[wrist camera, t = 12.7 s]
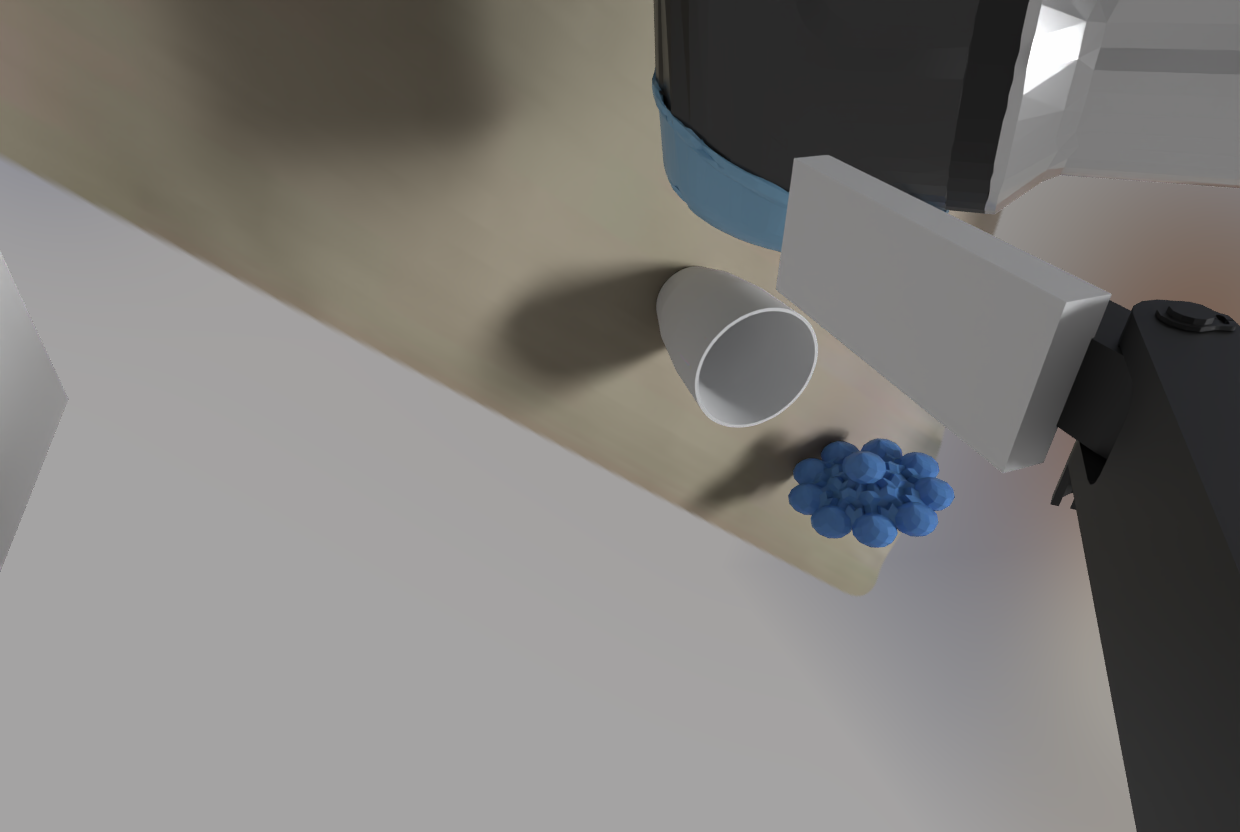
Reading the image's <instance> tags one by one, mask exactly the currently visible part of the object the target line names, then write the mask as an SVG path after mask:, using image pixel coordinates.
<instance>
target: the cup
mask: <svg viewBox="0 0 1240 832" xmlns="http://www.w3.org/2000/svg"><path fill="white" fill-rule="evenodd" d="M656 310H657V316H658V322H659V328H660V333H661V337H662V339H663V342H664V344H665V346H666V349H667V351H668V353H669V355H670V358H671V360H672V362H673V364H674V367H675V369H676V371H677V373H678V374H679V376H680V377H681V379H682V380H683V382H684V383H685V385H686V386H687V388H688V390H689V391H690V393H691V394H692V396H693V397H694V399H695V400H696V402H697V403H698V405H699V406H700V408H701V409H702V411H703V412H704V413H705V415H706V416H708V417H709V418H710V419H711V420H713V421H714V422H716V423H718V424H721V425H724V426H728V427H748V426H753V425H757V424H760V423H762V422H765V421H767V420H769V419H771V418H773V417H775V416H776V415H778V414H780V413H781V412H782V411H784V410H785V409H786V408H788V407H789V406H790V405H791V404H792V403H793V402H794V401H795V400H796V399H797V398H798V397H799V395H800V394H801V393H802V392H803V390H804V389H805V387H806V386H807V384H808V382H809V381H810V379H811V376H812V374H813V372H814V369H815V366H816V361H817V355H818V344H817V338H816V335H815V332H814V330H813V328H812V326H811V325H810V323H809V322H808V321H807V320H806V319H805V318H804V317H803V316H801V315H800V314H799V313H797V312H796V311H794V310H793V309H791V308H790V307H788V306H787V305H786V304H784V303H783V302H781V301H780V300H778V299H777V298H776V297H774V296H773V295H771V294H770V293H768V292H767V291H765V290H764V289H762V288H761V287H758V286H756V285H754V284H752V283H750V282H748V281H746V280H744V279H741V278H739V277H737V276H735V275H733V274H731V273H728V272H725V271H721V270H716V269H711V268H706V267H700V266H693V267H688V268H685V269H682V270H680V271H678V272H677V273H675V274H674V275H672V276H671V277H670V278H669V279H668V280H667V281H666V282H665V284H664V285H663V287H662V288H661V290H660V292H659V295H658V298H657V303H656Z"/></svg>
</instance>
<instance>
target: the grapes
mask: <svg viewBox="0 0 1240 832" xmlns="http://www.w3.org/2000/svg"><path fill="white" fill-rule="evenodd" d="M821 458H822V461H821V460H819V459H815V458H808V459H804V460H802V461H801V462H799V463H798V464H796V466H795V468H794V470H793V475H794V479H795V480H796V481H797V482H798V483H799V485H797V486H796V487H794V488H793V489H792V490H791V492H790V494H789V495H788V498H789V504H790V505H791V506H792V507H793V508H794V509H795V510H796V511H798V512H800V513H802V514H804V515H812V517H811V524H812V527H813V528H814V529H815V530H816V531H817V533H819V534H820V535H823V536H825V537H827V538H842V537H843V536H845V535H847V534H848V533H850V532H851V530H852V531H853V535H854V536H855V537H856V539H857V540H858V541H859V542H861V543H862V544H865V545H867V546H869V547H877V548H878V547H885V546H887V545H889V544H890V543H892V542H893V541H894V539H895V538H896V536H897V534H898V533H897V529H898V530H899V531H901V532H903V533H905V534H907V535H909V536H916V537H917V536H926V535H928V534H929V533H931V532H933V531H934V530H935V528H936V526H937V524H938V518H937V514H936V513H935V512H934V511H939V510H943V509H945V508H946V507H948V506H950V504H951V503H952V501H953V499H954V498H955V496H954V492H953V489H952V487H951V486H950V485H949V484H948V483H947V482H945V481H942V480H940V479H938V478H936V476H937V475H938V473H939V466H938V463H937V462H936V461H935V460H934V459H933V458H932V457H931V456H928V455H926V454H924V453H919V452H912V453H907V454H906V455H904V456H902V451H901V449H900V447H899V446H898V445H897V444H896V443H894V442H892V441H890V440H887V439H879V438H878V439H874V440H871V441H869V442H868V443H866V444H865V445H864V446H863V448H862V450H861V451H859V450H858V449H857V448H856V446H854V445H852V444H850V443H848V442H843V441H836V442H833V443H830V444H829V445H827V446H826V447H824V449H823V451H822V453H821Z"/></svg>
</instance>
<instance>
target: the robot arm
mask: <svg viewBox="0 0 1240 832" xmlns="http://www.w3.org/2000/svg"><path fill="white" fill-rule="evenodd" d="M654 28H655V65H656V67H655V72H654V75H653V78H652V89H653V95H654V99H655V102H656V105H657V107H658V109H659V113H660V126H661V138H662V150H663V161H664V167H665V171H666V174H667V177H668V180H669V182H670V184H671V186H672V188H673V190H674V191H675V192H676V193H677V194H678V195H679V197H680V198H681V199H682V200H683V201H685V202H686V203H687V205H688V207H689V208H690V210H691V211H692V212H693V213H695V214H696V215H697V216H698V217H700V218H701V219H703V220H704V221H706V222H707V223H708V224H710V225H712V226H713V227H715V228H717V229H719V230H721V231H723V232H725V233H727V234H729V235H731V236H733V237H735V238H738V239H740V240H743V241H745V242H748V243H751V244H754V245H758V246H761V247H764V248H767V249H771V250H775V251H779V252H781V256H780V263H779V271H778V278H777V285H776V290H777V291H778V292H780V293H781V294H782V295H783V296H785V297H786V298H787V299H788V300H789V301H791V302H792V303H793V304H794V305H796V306H797V307H798V308H799V309H801V310H802V311H803V312H804V313H806V314H807V315H808V316H809V317H810V318H812V319H813V320H814V321H815V322H817V323H818V324H819V325H820V326H822V327H823V328H824V329H825V330H827V331H828V332H829V333H830V334H831V335H833V336H834V337H835V338H836V339H838V340H839V341H840V342H841V343H843V344H844V345H845V346H846V347H848V348H849V349H850V350H851V351H852V352H854V353H855V354H856V355H857V356H859V357H860V358H861V359H862V360H864V361H865V362H866V363H867V364H869V365H870V366H871V367H872V368H873V369H875V370H876V371H877V372H878V373H880V374H881V375H882V376H883V377H885V378H886V379H887V380H888V381H890V382H891V383H892V384H893V385H894V386H896V387H897V388H898V389H899V390H901V391H902V392H903V393H904V394H906V395H907V396H908V397H909V398H911V399H912V400H913V401H914V402H915V403H917V404H918V405H919V406H920V407H922V408H923V409H924V410H925V411H927V412H928V413H929V414H930V415H932V416H933V417H934V418H935V419H936V420H938V421H939V422H940V423H941V424H943V425H944V426H945V427H946V428H948V429H949V430H950V431H951V432H953V433H954V434H955V435H956V436H958V437H959V438H960V439H961V440H962V441H964V442H965V443H966V444H967V445H969V446H970V447H971V448H972V449H974V450H975V451H976V452H978V453H979V454H980V455H981V456H982V457H983V458H985V459H986V460H987V461H988V462H990V463H991V464H992V465H993V466H995V467H996V468H997V469H998V470H1000V471H1001V472H1002V473H1006V472H1009V471H1013V470H1017V469H1021V468H1025V467H1029V466H1033V465H1036V464H1040V463H1043V462H1044V460H1045V458H1046V455H1047V453H1048V450H1049V448H1050V445H1051V443H1052V440H1053V438H1054V435H1055V433H1056V431H1057V428H1058V427H1059V428H1060V429H1062V430H1063V431H1065V432H1066V433H1068V434H1069V435H1071V436H1072V437H1074V438H1075V439H1076V442H1075V444H1074V447H1073V449H1072V451H1071V454H1070V456H1069V458H1068V461H1067V463H1066V465H1065V468H1064V470H1063V472H1062V475H1061V477H1060V479H1059V482H1058V484H1057V486H1056V489H1055V491H1054V494H1053V496H1052V500H1051V504H1052V505H1056V506H1059V504H1060V502H1061V500H1062V497H1064V496H1066V495H1068V494H1070V493H1073V495H1074V501H1073V503H1072V505H1071V509H1075V510H1076V511H1077V516H1078V521H1079V527H1080V532H1081V537H1082V542H1083V548H1084V553H1085V559H1086V564H1087V569H1088V575H1089V580H1090V585H1091V591H1092V595H1093V601H1094V607H1095V612H1096V617H1097V622H1098V627H1099V633H1100V638H1101V644H1102V648H1103V654H1104V659H1105V665H1106V670H1107V676H1108V681H1109V686H1110V692H1111V697H1112V702H1113V708H1114V713H1115V718H1116V724H1117V728H1118V734H1119V740H1120V745H1121V750H1122V756H1123V760H1124V766H1125V771H1126V777H1127V782H1128V787H1129V793H1130V798H1131V803H1132V809H1133V814H1134V819H1135V825H1136V829H1137V832H1240V326H1239V325H1238V324H1237V323H1236V322H1235V321H1234V320H1233V319H1232V318H1231V317H1229V316H1228V315H1225V314H1220V313H1218V312H1216V311H1213V310H1212V309H1209V308H1207V307H1205V306H1203V305H1200V304H1196V303H1192V302H1185V301H1169V300H1149V301H1142V302H1140V303H1138V304H1136V305H1134V306H1133V308H1132V311H1130V310H1128V309H1126V308H1124V307H1122V306H1120V305H1118V304H1116V303H1114V302H1112V301H1110V297H1111V293H1109V292H1107V291H1105V290H1103V289H1101V288H1099V287H1097V286H1095V285H1092V284H1090V283H1088V282H1086V281H1084V280H1082V279H1080V278H1078V277H1076V276H1074V275H1072V274H1070V273H1068V272H1066V271H1064V270H1062V269H1060V268H1058V267H1056V266H1054V265H1052V264H1050V263H1048V262H1046V261H1044V260H1042V259H1039V258H1038V257H1035V256H1033V255H1031V254H1029V253H1027V252H1025V251H1023V250H1021V249H1019V248H1017V247H1015V246H1013V245H1011V244H1009V243H1007V242H1005V241H1003V240H1001V239H999V238H997V237H995V236H993V235H991V234H989V233H987V232H985V231H982V230H980V229H978V228H976V227H974V226H972V225H970V224H968V223H966V222H964V221H962V220H960V219H958V218H956V217H954V216H952V215H950V214H948V212H949V210H953V211H964V212H974V213H984V214H995V213H997V212H998V211H1000V210H1001V209H1003V208H1004V207H1006V206H1007V205H1009V204H1010V203H1012V202H1013V201H1015V200H1016V199H1018V198H1019V197H1020V196H1022V195H1023V194H1025V193H1026V192H1028V191H1029V190H1031V189H1032V188H1034V187H1035V186H1036V185H1038V184H1039V183H1041V182H1043V181H1046V180H1048V179H1051V178H1054V177H1056V176H1059V175H1066V176H1078V177H1092V178H1106V179H1120V180H1133V181H1147V182H1160V183H1173V184H1187V185H1188V184H1189V185H1201V186H1215V187H1228V188H1240V0H654ZM67 401H68V397H67V395H66V393H65V391H64V389H63V386H62V384H61V382H60V380H59V377H58V375H57V373H56V371H55V369H54V367H53V364H52V362H51V360H50V358H49V356H48V354H47V351H46V349H45V347H44V345H43V343H42V341H41V338H40V336H39V334H38V332H37V330H36V327H35V325H34V323H33V321H32V319H31V317H30V315H29V312H28V310H27V308H26V306H25V304H24V301H23V299H22V297H21V295H20V293H19V291H18V288H17V286H16V284H15V282H14V280H13V278H12V275H11V273H10V271H9V269H8V267H7V264H6V263H5V260H4V258H3V256H2V254H1V251H0V571H1V569H2V566H3V564H4V561H5V558H6V556H7V553H8V551H9V548H10V546H11V543H12V541H13V538H14V536H15V533H16V531H17V528H18V526H19V523H20V520H21V518H22V515H23V513H24V510H25V508H26V505H27V503H28V500H29V498H30V495H31V492H32V490H33V488H34V485H35V482H36V480H37V477H38V475H39V472H40V470H41V467H42V465H43V462H44V460H45V457H46V455H47V452H48V450H49V447H50V444H51V442H52V439H53V437H54V434H55V432H56V429H57V427H58V424H59V422H60V419H61V417H62V414H63V412H64V409H65V407H66V404H67Z"/></svg>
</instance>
